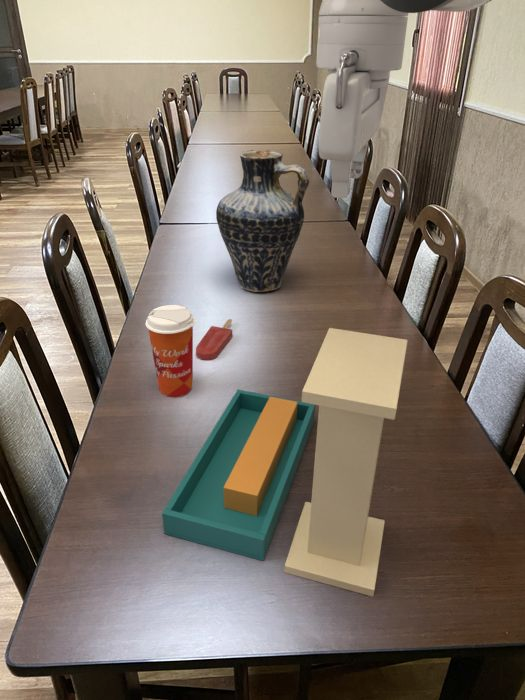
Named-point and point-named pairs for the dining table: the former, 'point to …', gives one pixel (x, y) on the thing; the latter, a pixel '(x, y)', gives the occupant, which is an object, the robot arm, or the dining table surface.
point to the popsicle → (214, 341)
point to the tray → (213, 472)
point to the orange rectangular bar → (260, 457)
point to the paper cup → (172, 348)
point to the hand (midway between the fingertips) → (347, 186)
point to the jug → (262, 220)
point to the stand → (346, 458)
